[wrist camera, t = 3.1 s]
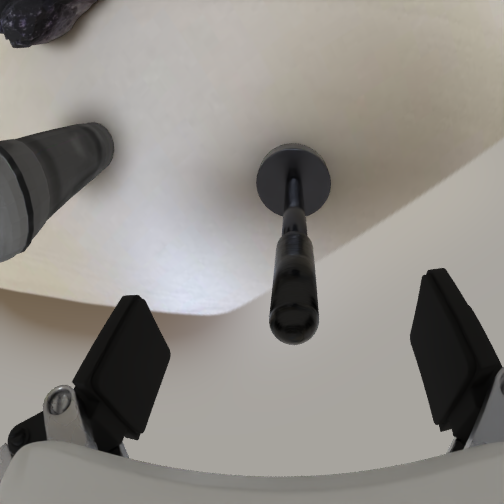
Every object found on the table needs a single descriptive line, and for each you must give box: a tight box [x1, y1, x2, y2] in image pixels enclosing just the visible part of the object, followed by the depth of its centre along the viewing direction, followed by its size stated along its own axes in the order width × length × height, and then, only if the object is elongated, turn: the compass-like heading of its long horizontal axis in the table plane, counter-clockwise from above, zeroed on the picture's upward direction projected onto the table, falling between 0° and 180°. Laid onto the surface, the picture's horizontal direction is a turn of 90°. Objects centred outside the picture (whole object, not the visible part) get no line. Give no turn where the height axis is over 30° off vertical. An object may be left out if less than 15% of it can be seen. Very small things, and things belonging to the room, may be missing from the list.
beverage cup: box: [0, 123, 114, 262], centre depth 14 cm, size 7×7×20 cm
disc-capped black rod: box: [256, 144, 331, 345], centre depth 16 cm, size 5×5×16 cm
